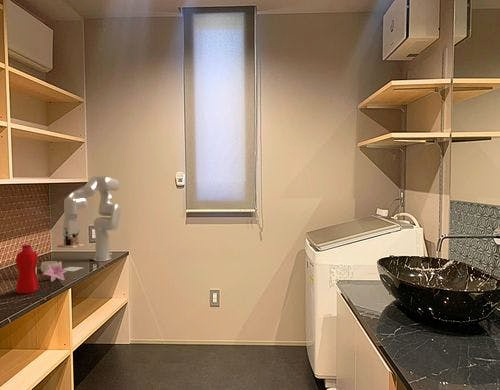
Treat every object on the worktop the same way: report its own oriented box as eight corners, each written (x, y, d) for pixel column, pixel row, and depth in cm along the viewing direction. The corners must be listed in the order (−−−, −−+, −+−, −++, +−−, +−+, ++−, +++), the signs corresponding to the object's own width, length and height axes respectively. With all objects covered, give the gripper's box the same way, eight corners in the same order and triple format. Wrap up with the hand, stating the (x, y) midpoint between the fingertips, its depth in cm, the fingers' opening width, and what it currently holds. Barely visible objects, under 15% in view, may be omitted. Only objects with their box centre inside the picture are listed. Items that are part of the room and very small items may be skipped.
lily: (40, 283, 232) (43, 270, 229) (47, 271, 243) (50, 258, 239) (61, 288, 235) (64, 275, 232) (67, 276, 246) (70, 264, 242)
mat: (69, 268, 267) (69, 266, 267) (84, 269, 265) (84, 267, 265) (58, 271, 256) (58, 270, 256) (73, 272, 254) (73, 271, 254)
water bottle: (42, 288, 217) (41, 242, 216) (32, 294, 206) (31, 246, 205) (25, 288, 217) (24, 243, 216) (13, 294, 206) (12, 246, 205)
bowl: (48, 269, 262) (48, 260, 262) (60, 270, 260) (60, 261, 260) (38, 273, 253) (38, 263, 253) (50, 273, 251) (50, 264, 251)
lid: (69, 244, 267) (69, 236, 267) (85, 244, 265) (85, 236, 264) (57, 247, 256) (56, 238, 255) (73, 247, 253) (73, 239, 253)
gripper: (74, 215, 269) (74, 242, 269) (56, 218, 252) (57, 246, 253) (84, 215, 267) (84, 242, 268) (67, 218, 250) (67, 247, 251)
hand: (71, 244), depth 260 cm, fingers closed on lid, 5 cm apart
